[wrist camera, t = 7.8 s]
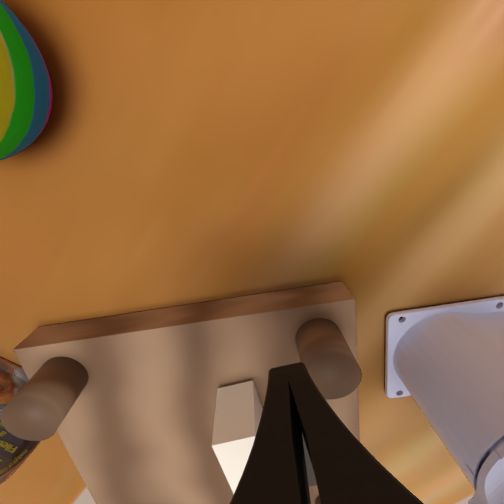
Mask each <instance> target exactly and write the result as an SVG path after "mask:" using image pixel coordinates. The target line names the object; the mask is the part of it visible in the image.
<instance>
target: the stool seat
mask: <svg viewBox="0 0 504 504" xmlns="http://www.w3.org/2000/svg"><path fill="white" fill-rule="evenodd" d="M13 351H14V353H15V355H16V357H17V359H18V360H19V362H20V364H21V366H22V368H23V370H24V372H25V373H26V375H27V377H28V379H29V381H28V382H27V383H26V384H25V385H24V386H23V387H22V388H21V390H20V391H19V392H18V393H17V394H16V395H15V396H14V397H13V398H12V399H11V400H10V402H9V403H8V404H7V405H6V406H5V407H4V408H3V410H2V411H1V414H0V419H1V423H2V425H3V426H4V428H5V429H6V430H7V431H8V432H9V433H11V434H12V435H14V436H16V437H18V438H21V439H24V440H29V441H41V440H45V439H48V438H50V437H51V436H52V435H54V433H55V432H56V431H57V433H58V434H59V436H60V438H61V440H62V442H63V444H64V445H65V447H66V449H67V451H68V453H69V455H70V457H71V458H72V460H73V462H74V464H75V466H76V468H77V469H78V471H79V473H80V475H81V477H82V479H83V481H84V482H85V484H86V486H87V488H88V490H89V492H90V493H91V495H92V497H93V499H94V501H95V503H96V504H230V502H231V500H232V497H233V495H234V494H233V491H232V489H231V487H230V485H229V483H228V481H227V478H226V476H225V474H224V472H223V470H222V467H221V465H220V463H219V461H218V459H217V456H216V454H215V452H214V450H213V448H212V437H213V428H214V418H215V408H216V399H217V389H218V388H222V387H227V386H231V385H235V384H239V383H244V382H248V381H252V380H253V382H254V385H255V388H256V391H257V394H258V397H259V400H260V403H261V405H262V408H263V406H264V402H265V396H266V391H267V384H268V372H269V370H270V369H271V368H276V367H280V366H285V365H289V364H294V363H298V362H302V363H304V364H305V366H306V368H307V371H308V373H309V375H310V376H311V378H312V380H313V382H314V383H315V385H316V386H317V388H318V390H319V391H320V393H321V394H322V396H323V397H324V398H325V400H326V401H327V403H328V404H329V405H330V407H331V408H332V409H333V411H334V412H335V413H336V415H337V416H338V417H339V418H340V420H341V421H342V422H343V423H344V424H345V426H346V427H347V428H348V429H349V430H350V432H351V433H352V434H353V435H354V436H355V437H356V439H357V440H358V441H359V442H360V437H359V405H358V385H359V383H360V381H361V377H362V373H361V369H360V367H359V365H358V363H357V341H356V309H355V298H354V297H353V295H352V294H351V293H350V291H349V290H348V289H347V287H346V286H345V284H344V283H343V282H342V281H341V282H334V283H327V284H321V285H314V286H307V287H301V288H294V289H287V290H281V291H274V292H268V293H261V294H254V295H248V296H241V297H234V298H228V299H221V300H214V301H208V302H201V303H194V304H188V305H181V306H174V307H168V308H161V309H154V310H148V311H141V312H134V313H128V314H121V315H115V316H108V317H101V318H95V319H88V320H81V321H75V322H68V323H61V324H55V325H48V326H41V327H38V328H37V329H36V330H35V331H33V332H32V333H31V334H30V335H29V336H28V337H27V338H26V339H24V340H23V341H22V342H21V343H20V344H19V345H18V346H17V347H15V348H14V349H13ZM302 437H303V434H302ZM303 445H304V453H305V460H306V468H307V476H308V484H309V492H310V500H311V504H321V502H320V497H319V492H318V487H317V483H316V478H315V474H314V470H313V467H312V464H311V460H310V457H309V454H308V450H307V447H306V444H305V441H304V437H303Z"/></svg>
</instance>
